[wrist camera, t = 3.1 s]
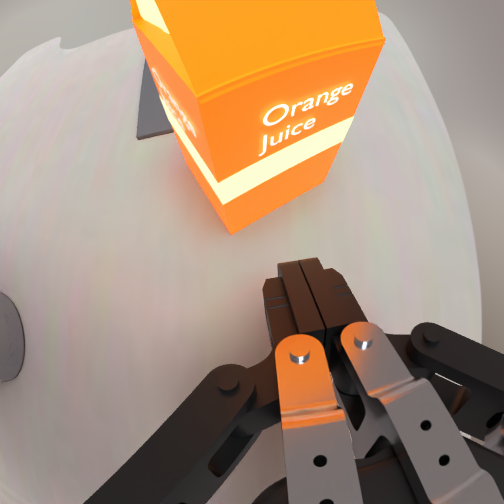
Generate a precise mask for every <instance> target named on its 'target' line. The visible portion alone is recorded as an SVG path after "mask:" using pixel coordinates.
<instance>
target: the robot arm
mask: <svg viewBox="0 0 504 504" xmlns="http://www.w3.org/2000/svg"><path fill="white" fill-rule="evenodd" d="M277 267H278V277H276V278H270V279H266V281H265V284H264V286H263V298H264V306H265V314H266V321H267V326H268V331H269V336H270V341H271V346H272V351H271V353H270V354H269V356H268V357H267V358H266V359H265V360H264V361H262V362H261V363H259V364H257V365H254V366H252V367H250V368H248V369H246V368H245V367H243V366H240V365H236V364H226V365H222V366H219V367H217V368H215V369H214V370H212V371H211V372H210V373H209V374H208V375H207V376H206V377H205V378H204V379H203V380H202V382H201V383H200V384H199V385H198V386H197V387H196V388H195V389H194V391H193V392H192V393H191V394H190V395H189V396H188V397H187V398H186V399H185V401H184V402H183V403H182V404H181V405H180V406H179V407H178V408H177V409H176V410H175V411H174V413H173V414H172V415H171V416H170V417H169V418H168V419H167V420H166V421H165V422H164V423H163V424H162V425H161V426H160V428H159V429H158V430H157V431H156V432H155V433H154V434H153V435H152V436H151V437H150V438H149V439H148V440H147V441H146V442H145V443H144V444H143V445H142V446H141V447H140V448H139V449H138V450H137V452H136V453H135V454H134V455H133V456H132V457H131V458H130V459H129V460H128V461H127V462H126V463H125V464H124V465H123V466H122V467H121V468H120V469H119V470H118V471H117V472H116V473H115V474H114V475H113V476H112V477H111V478H110V479H108V480H107V481H106V482H105V483H104V484H103V485H102V486H101V487H100V488H99V489H98V490H97V491H96V492H95V493H94V494H93V495H92V496H91V497H90V498H89V499H88V500H86V501H85V502H84V503H83V504H206V503H207V502H208V500H209V499H210V498H211V497H212V496H213V494H214V493H215V492H216V491H217V490H218V489H219V487H220V486H221V485H222V484H223V482H224V481H225V480H226V479H227V477H228V476H229V475H230V474H231V472H232V471H233V470H234V469H235V467H236V466H237V465H238V463H239V462H240V461H241V459H242V458H243V457H244V456H245V454H246V453H247V451H248V450H249V449H250V447H251V446H252V445H253V443H254V442H255V441H256V439H257V438H258V436H259V435H260V434H261V432H262V430H264V429H266V428H268V427H270V426H272V425H274V424H277V423H279V422H281V424H282V435H283V446H284V457H285V469H286V477H285V478H283V479H281V480H279V481H277V482H275V483H274V484H272V485H271V486H269V487H268V488H267V489H265V490H264V491H263V492H262V493H261V494H260V495H259V496H258V497H257V498H256V499H255V500H254V501H253V503H252V504H504V354H501V353H499V352H497V351H495V350H493V349H490V348H488V347H486V346H484V345H482V344H480V343H477V342H475V341H473V340H471V339H469V338H466V337H464V336H462V335H460V334H457V333H455V332H453V331H451V330H449V329H446V328H444V327H442V326H440V325H437V324H435V323H429V322H426V323H421V324H418V325H417V326H415V327H414V328H413V330H412V332H411V335H393V334H386V333H384V332H383V331H382V329H381V328H379V327H378V326H377V325H375V324H373V323H369V322H368V321H367V319H366V317H365V315H364V313H363V311H362V310H361V308H360V306H359V304H358V302H357V301H356V299H355V297H354V295H353V294H352V292H351V290H350V288H349V286H347V283H346V281H345V279H344V278H343V276H342V275H341V274H340V273H338V272H337V271H336V270H334V269H333V268H330V269H323V267H322V265H321V263H320V261H319V259H318V258H317V257H316V258H310V259H303V260H298V261H291V262H285V263H278V265H277ZM23 354H24V338H23V331H22V326H21V322H20V318H19V315H18V313H17V310H16V308H15V307H14V305H13V303H12V302H11V300H10V299H9V298H8V297H7V296H5V295H4V294H2V293H0V382H4V381H9V380H12V379H13V378H15V377H16V375H17V374H18V373H19V370H20V368H21V365H22V361H23ZM330 372H331V374H332V377H333V385H332V381H331V376H330ZM435 373H437V374H439V375H441V376H443V377H445V378H448V379H450V380H452V381H454V382H456V383H458V384H460V385H462V386H459V385H457V384H455V383H453V382H450V381H448V380H446V379H444V378H442V377H440V376H438V375H436V374H435ZM335 397H336V398H335ZM336 400H337V402H338V404H339V406H338V405H337V402H336ZM348 428H349V430H348ZM459 430H460V431H462V432H464V433H466V434H469V435H471V436H473V437H475V438H478V439H480V440H482V441H484V444H483V446H482V445H480V444H478V443H476V442H474V441H472V440H470V439H468V438H466V437H464V436H462V435H461V433H460V431H459ZM349 431H350V433H351V437H352V444H351V439H350V435H349ZM352 448H353V449H352ZM353 452H354V454H353ZM354 456H355V458H356V459H355V458H354Z"/></svg>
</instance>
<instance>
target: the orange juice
mask: <svg viewBox="0 0 504 504" xmlns="http://www.w3.org/2000/svg"><path fill="white" fill-rule="evenodd" d="M130 2H131V9H132V16H133V20H132V22H133V25H134V27H135V30H136V33H137V36H138V38H139V41H140V44H141V47H142V49H143V52H144V55H145V58H146V60H147V63H148V66H149V68H150V71H151V73H152V76H153V79H154V81H155V84H156V87H157V89H158V92H159V94H160V96H159V97H160V99H161V102H162V104H163V107H164V109H165V112H166V114H167V117H168V119H169V121H170V123H171V125H172V128H173V130H174V133H175V135H176V138H177V140H178V143H179V145H180V148H181V150H182V153H183V155H184V158H185V160H186V162H187V164H188V166H189V168H190V169H191V171H192V172H193V174H194V176H195V177H196V179H197V181H198V182H199V184H200V185H201V187H202V189H203V190H204V192H205V193H206V195H207V197H208V198H209V200H210V201H211V203H212V205H213V206H214V208H215V209H216V211H217V213H218V214H219V216H220V218H221V219H222V221H223V222H224V224H225V225H226V227H227V229H228V230H229V232H230V233H231V235H232V234H234V233H235V232H237V231H239V230H241V229H242V228H244V227H246V226H247V225H249V224H251V223H252V222H254V221H256V220H258V219H259V218H261V217H263V216H264V215H266V214H268V213H270V212H271V211H273V210H275V209H276V208H278V207H280V206H282V205H283V204H285V203H287V202H289V201H290V200H292V199H294V198H296V197H297V196H299V195H301V194H303V193H304V192H306V191H308V190H310V189H311V188H313V187H315V186H317V185H318V184H320V183H322V182H324V179H325V177H326V175H327V173H328V171H329V169H330V167H331V164H332V162H333V160H334V158H335V156H336V153H337V151H338V149H339V147H340V145H341V142H342V141H343V140H344V138H345V136H346V133H347V131H348V129H349V127H350V124H351V122H352V120H353V118H354V116H353V115H354V113H355V111H356V109H357V106H358V104H359V102H360V99H361V97H362V95H363V92H364V90H365V88H366V85H367V83H368V81H369V78H370V76H371V73H372V71H373V69H374V66H375V64H376V61H377V59H378V57H379V54H380V52H381V49H382V47H383V44H385V43H384V42H385V39H386V38H385V37H383V33H382V29H381V25H380V20H379V16H378V12H377V9H376V5H375V1H374V0H130Z"/></svg>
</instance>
